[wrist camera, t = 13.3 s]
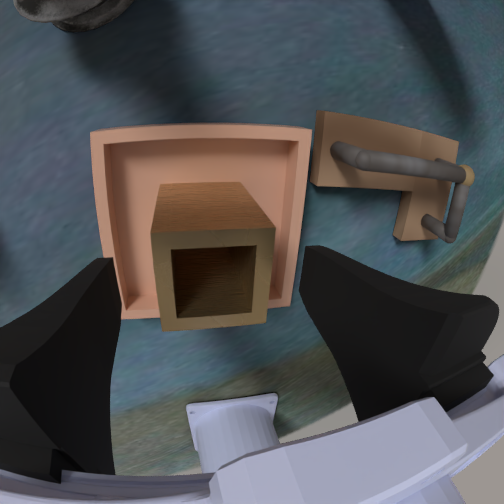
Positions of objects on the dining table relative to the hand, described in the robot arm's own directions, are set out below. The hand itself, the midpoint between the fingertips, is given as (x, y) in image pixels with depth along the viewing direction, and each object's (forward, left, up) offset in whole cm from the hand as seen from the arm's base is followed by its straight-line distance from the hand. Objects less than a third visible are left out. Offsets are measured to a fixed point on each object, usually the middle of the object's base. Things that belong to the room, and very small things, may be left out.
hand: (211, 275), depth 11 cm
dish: (0, 0, -6) cm, 6 cm away
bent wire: (+2, -11, -6) cm, 13 cm away
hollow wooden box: (0, 0, -5) cm, 5 cm away
